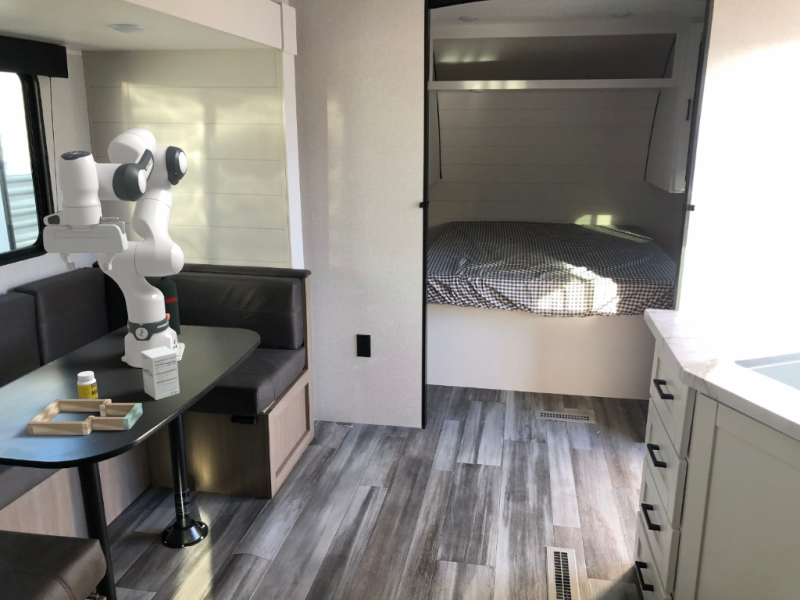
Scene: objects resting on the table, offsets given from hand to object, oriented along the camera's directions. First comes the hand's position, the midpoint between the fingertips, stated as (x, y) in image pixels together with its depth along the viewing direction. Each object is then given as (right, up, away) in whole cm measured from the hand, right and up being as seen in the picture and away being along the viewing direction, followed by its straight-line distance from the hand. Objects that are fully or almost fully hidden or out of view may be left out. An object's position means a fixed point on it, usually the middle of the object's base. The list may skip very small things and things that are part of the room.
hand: (89, 269), depth 167 cm
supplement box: (+13, -35, +15) cm, 40 cm away
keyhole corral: (+1, -39, -2) cm, 39 cm away
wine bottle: (-4, -20, +66) cm, 69 cm away
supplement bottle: (-4, -36, +9) cm, 38 cm away
